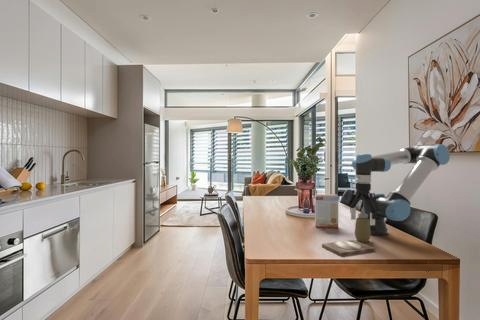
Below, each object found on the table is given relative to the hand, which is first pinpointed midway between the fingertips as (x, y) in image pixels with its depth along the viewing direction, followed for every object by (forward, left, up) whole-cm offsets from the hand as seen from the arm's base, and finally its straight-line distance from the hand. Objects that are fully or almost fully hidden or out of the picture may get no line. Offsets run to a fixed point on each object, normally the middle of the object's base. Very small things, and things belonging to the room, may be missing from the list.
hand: (362, 222), depth 151 cm
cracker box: (-1, -32, -10) cm, 34 cm away
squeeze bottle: (0, 0, -10) cm, 10 cm away
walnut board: (+17, +8, -10) cm, 21 cm away
